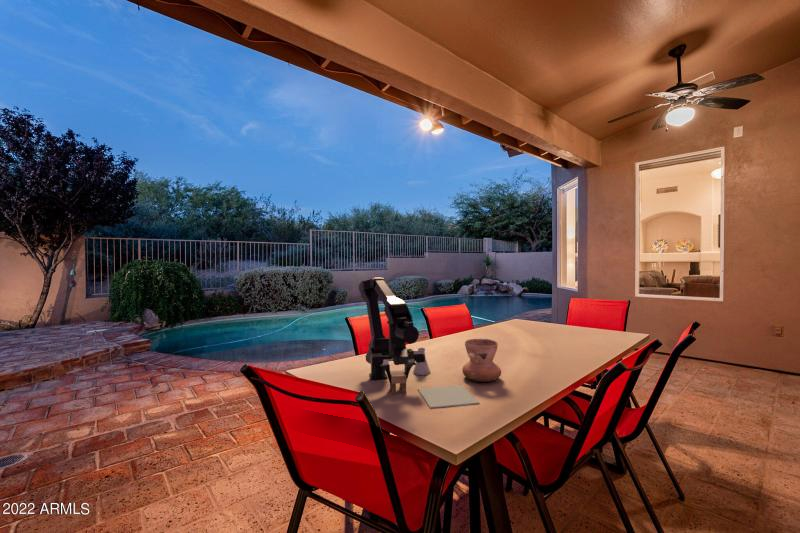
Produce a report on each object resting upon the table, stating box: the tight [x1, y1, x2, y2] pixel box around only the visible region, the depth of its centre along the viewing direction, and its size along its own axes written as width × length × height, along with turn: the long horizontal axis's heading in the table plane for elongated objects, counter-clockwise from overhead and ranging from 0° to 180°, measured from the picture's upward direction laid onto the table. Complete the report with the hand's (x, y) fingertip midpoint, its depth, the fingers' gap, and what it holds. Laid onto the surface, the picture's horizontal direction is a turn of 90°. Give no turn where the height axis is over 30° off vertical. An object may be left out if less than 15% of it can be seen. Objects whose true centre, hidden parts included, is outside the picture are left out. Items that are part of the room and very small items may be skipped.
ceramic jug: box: [461, 338, 502, 383], centre depth 130 cm, size 18×14×14 cm
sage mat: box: [417, 384, 480, 409], centre depth 112 cm, size 16×16×1 cm
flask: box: [412, 347, 431, 376], centre depth 137 cm, size 7×7×10 cm
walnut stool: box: [389, 369, 407, 395], centre depth 118 cm, size 6×5×6 cm
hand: (397, 382), depth 118 cm, fingers closed on walnut stool, 5 cm apart
